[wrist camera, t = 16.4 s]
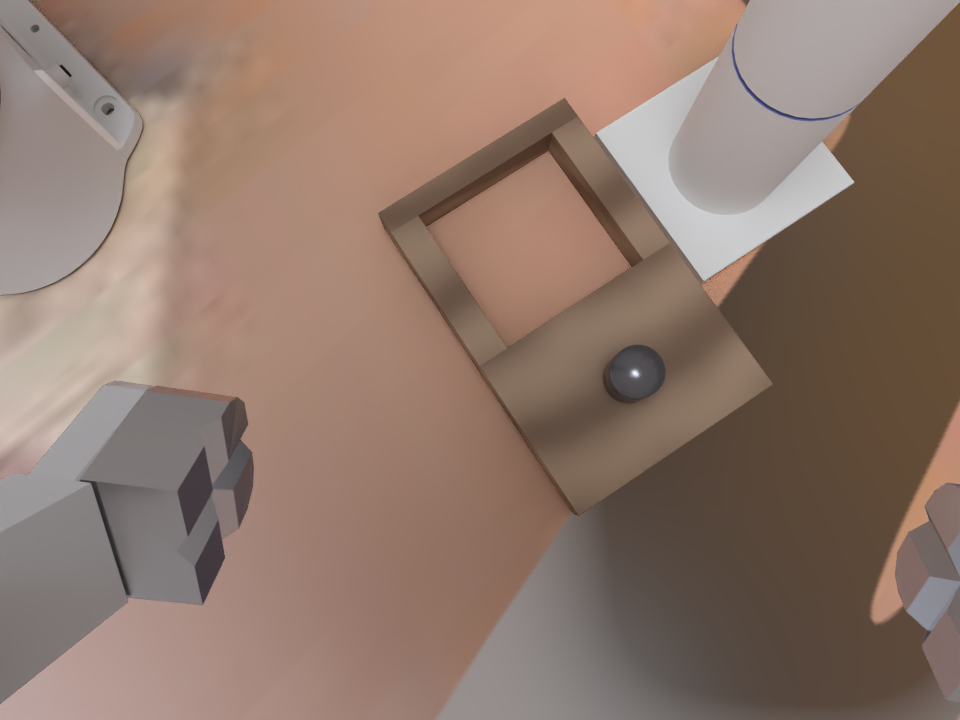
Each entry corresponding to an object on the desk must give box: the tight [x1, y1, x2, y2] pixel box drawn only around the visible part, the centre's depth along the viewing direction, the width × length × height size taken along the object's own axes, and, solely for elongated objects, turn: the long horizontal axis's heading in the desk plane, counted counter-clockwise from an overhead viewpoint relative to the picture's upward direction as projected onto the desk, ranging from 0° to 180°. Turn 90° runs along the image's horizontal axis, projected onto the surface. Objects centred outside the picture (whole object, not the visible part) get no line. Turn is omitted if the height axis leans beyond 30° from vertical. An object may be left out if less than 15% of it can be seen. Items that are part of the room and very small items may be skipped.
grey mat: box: [594, 56, 854, 284], centre depth 49 cm, size 12×12×1 cm
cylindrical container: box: [669, 0, 960, 215], centre depth 36 cm, size 7×7×25 cm
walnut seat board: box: [378, 98, 773, 516], centre depth 45 cm, size 22×14×6 cm, turn 33°
